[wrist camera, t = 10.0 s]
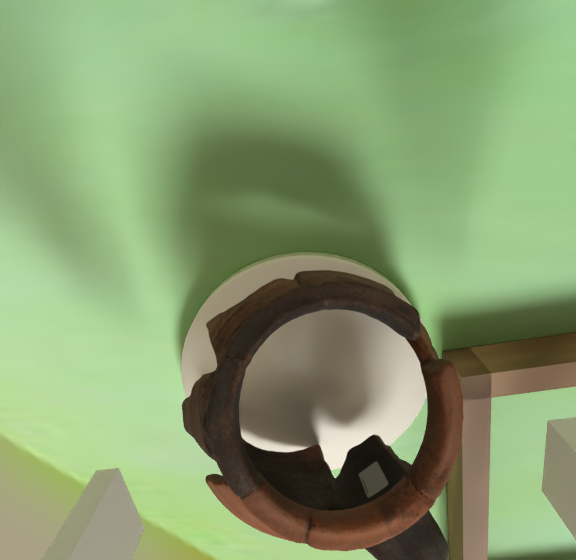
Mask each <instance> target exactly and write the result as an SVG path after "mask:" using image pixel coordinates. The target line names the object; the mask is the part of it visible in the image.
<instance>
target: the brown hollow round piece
mask: <svg viewBox="0 0 576 560" xmlns="http://www.w3.org/2000/svg"><path fill="white" fill-rule="evenodd" d="M321 310H349V311H355V312H359V313H363V314H366V315H368V316H370V317H372V318H374V319H377V320H379V321H380V322H382V323H384V324H386V325H387V326H389V327H390V328H391V329H392V330H394V331H395V332H396V333H398V334H399V335H401V336H403V337H405V338H406V340H407V342H408V343H409V344H410V346H411V347H412V349H413V350H414V352H415V354H416V356H417V358H418V360H419V362H420V366H421V372H422V375H423V378H424V382H425V386H426V392H427V402H428V416H427V425H426V431H425V435H424V439H423V442H422V445H421V447H420V450H419V452H418V454H417V457H416V459H415V460H414V462H413V464H412V465H411V464H409V463H408V462H406V461H403V460H401V459H399V457H398V456H397V455H396V454H395V453H394V452H393V450H392V449H391V447H390V446H388V445H385V443H384V442H383V440H382V439H381V437H380V436H378V435H372V436H370V437H368V438H367V439H366V440H365V441H364V442H362V443H361V444H359V445H357V446H354V447H352V448H351V449H350V450H349V451H348V452H347V456H346V459H345V461H344V464H343V466H342V469H341V472H340V474H339V475H338V477H337V478H334V477H333V475H332V473H331V470H330V467H329V465H328V464H327V462H326V461H325V459H324V455H323V452H322V449H321V447H320V446H319V445H318V444H316V445H313V446H311V447H308V448H306V449H303V450H297V451H294V452H276V451H268V450H263V449H260V448H257V447H255V446H253V445H252V444H250V443H248V442H246V441H245V440H244V439H243V438H242V436H241V430H240V421H239V401H240V393H241V389H242V384H243V380H244V377H245V371H246V368H247V367H248V365H249V364H250V362H251V360H252V358H253V356H254V355H255V353H256V352H257V351H258V349H259V348H260V346H261V345H262V344H263V343H264V342H265V341H266V339H267V338H268V337H269V336H270V335H271V334H272V333H274V332H275V331H276V330H277V329H278V328H280V327H281V326H283V325H284V324H286V323H288V322H289V321H291V320H293V319H295V318H298V317H300V316H303V315H305V314H309V313H313V312H318V311H321ZM206 327H207V329H208V332H209V338H210V342H211V345H212V347H213V350H214V353H215V355H216V360H217V368H216V370H215V371H214V372H211V373H207V374H203V375H202V376H201V378H200V379H198V380H197V381H196V382H195V383H194V385H193V387H192V390H191V395H190V396H189V397H188V398H186V399H185V400H184V402H183V404H182V411H183V422H184V427H185V430H186V431H187V432H188V433H189V434H190V435H191V436H192V437H194V439H195V440H196V442H197V443H198V444H199V446H200V447H201V448H202V449H203V451H204V452H205V453H206V454H207V455H208V456H209V457H211V458H212V459H213V460H215V461H216V462H217V464H218V467H219V469H220V471H221V473H222V475H223V476H221V475H218V474H211V475H208V476H206V483H207V484H208V486H209V487H210V489H211V490H212V492H213V493H214V495H215V496H216V497H217V498H218V500H219V501H220V502H221V503H222V504H223V505H224V506H225V507H226V508H227V509H228V510H229V511H230V512H231V513H233V514H234V515H235V516H236V517H238V518H239V519H240V520H242V521H243V522H245V523H247V524H248V525H250V526H252V527H253V528H255V529H257V530H259V531H261V532H264V533H267V534H269V535H272V536H275V537H278V538H282V539H285V540H289V541H293V542H296V543H305V544H308V545H309V546H311V547H313V548H315V549H321V550H339V551H349V550H356V549H364V548H365V549H366V550H367V551H368V552H370V553H371V554H372V555H373V556H374V557H375V558H376V559H377V560H447V558H448V544H447V542H446V540H445V538H444V536H443V534H442V532H441V530H440V528H439V526H438V524H437V523H436V521H435V520H434V518H433V517H432V515H431V513H430V511H429V509H430V508H431V507H432V506H433V505H434V502H435V500H436V498H437V497H439V495H440V494H441V492H442V490H443V488H444V486H445V485H446V483H447V482H448V480H449V476H450V474H451V472H452V470H453V467H454V464H455V462H456V460H457V456H458V453H459V449H460V445H461V441H462V429H463V420H464V415H463V396H462V392H461V388H460V383H459V379H458V376H457V373H456V370H455V367H454V365H453V363H452V362H451V361H448V360H444V359H438V356H437V353H436V351H435V349H434V348H433V346H432V343H431V339H430V337H429V335H428V333H427V331H426V329H425V327H424V326H423V324H422V323H421V321H420V316H419V313H418V311H417V310H416V309H415V308H414V307H413V306H411V305H410V304H409V303H407V302H405V301H403V300H402V299H400V298H398V297H397V296H395V294H394V292H393V291H392V290H391V289H390V288H388V287H387V286H385V285H383V284H380V283H378V282H376V281H373V280H371V279H368V278H364V277H361V276H358V275H355V274H350V273H346V272H340V271H331V270H314V271H301V272H298V273H296V275H295V277H294V280H290V279H284V278H278V279H275V280H273V281H271V282H269V283H267V284H265V285H263V286H262V287H260V288H259V289H257V290H256V291H255V292H253V293H252V294H250V295H249V296H247V297H246V298H245V299H244V300H242V301H241V302H239V303H237V304H236V305H234V306H233V307H231V308H229V309H227V310H226V311H224V312H222V313H219V314H218V315H216V316H215V317H214V318H212V319H211V320H210V321H208V322H207V323H206Z"/></svg>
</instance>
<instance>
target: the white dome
mask: <svg viewBox="0 0 576 560" xmlns="http://www.w3.org/2000/svg"><path fill="white" fill-rule="evenodd" d="M314 270H331V271H340V272H346V273H350V274H355V275H358V276H361V277H364V278H368V279H371V280H373V281H376V282H378V283H380V284H383V285H385V286H387V287H388V288H390V289H391V290H392V291H393V292H394V294H395V296H397V297H398V298H400V299H402V300H403V301H405V302H407V303H409V304H410V302H409V301H408V300H407V298H406V297H405V295H404V294H403V293H402V292H401V291H400V290H399V289H398V288H397V287H396V286H395V285H394V284H393V283H392V282H391V281H390V280H388V279H387V278H386V277H385V276H383V275H382V274H381V273H379V272H377V271H376V270H374V269H372V268H371V267H369V266H367V265H365V264H362V263H360V262H358V261H356V260H353V259H350V258H346V257H343V256H339V255H335V254H329V253H322V252H294V253H285V254H280V255H276V256H271V257H268V258H265V259H262V260H259V261H257V262H254V263H252V264H250V265H248V266H246V267H244V268H242V269H240V270H238V271H237V272H235V273H234V274H232V275H231V276H230V277H228V278H227V279H225V280H224V281H223V282H222V283H221V284H220V285H219V286H218V287H217V288H216V289H215V290H213V292H212V293H211V294H210V295H209V297H208V298H207V299H206V300H205V302H204V303H203V305H202V306H201V308H200V310H199V312H198V313H197V315H196V317H195V319H194V321H193V322H192V324H191V326H190V329H189V331H188V334H187V336H186V339H185V343H184V347H183V352H182V361H181V373H182V383H183V387H184V391H185V395H186V397H187V398H188V397H189V396H190V395H191V390H192V387H193V385H194V383H195V382H196V381H197V380H198V379H200V378H201V376H202V375H203V374H207V373H211V372H214V371H215V370H216V368H217V360H216V355H215V353H214V350H213V347H212V345H211V342H210V338H209V332H208V329H207V327H206V323H207V322H208V321H210V320H211V319H212V318H214V317H215V316H216V315H218V314H219V313H222V312H224V311H226V310H227V309H229V308H231V307H233V306H234V305H236V304H237V303H239V302H241V301H242V300H244V299H245V298H246V297H247V296H249V295H250V294H252V293H253V292H255V291H256V290H257V289H259V288H260V287H262V286H263V285H265V284H267V283H269V282H271V281H273V280H275V279H278V278H284V279H290V280H294V277H295V275H296V273H298V272H301V271H314ZM410 305H411V304H410ZM411 306H412V305H411ZM420 321H421V318H420ZM421 323H422V321H421ZM422 324H423V323H422ZM423 326H424V325H423ZM426 397H427V392H426V386H425V382H424V378H423V375H422V372H421V366H420V362H419V360H418V358H417V356H416V354H415V352H414V350H413V349H412V347H411V346H410V344H409V343H408V342H407V340H406V338H405V337H403V336H401V335H399V334H398V333H396V332H395V331H394V330H392V329H391V328H390V327H389V326H387V325H386V324H384V323H382V322H380V321H379V320H377V319H374V318H372V317H370V316H368V315H366V314H363V313H359V312H355V311H349V310H321V311H318V312H313V313H309V314H305V315H303V316H300V317H298V318H295V319H293V320H291V321H289V322H288V323H286V324H284V325H283V326H281V327H280V328H278V329H277V330H276V331H275V332H274V333H272V334H271V335H270V336H269V337H268V338H267V339H266V341H265V342H264V343H263V344H262V345H261V346H260V348H259V349H258V351H257V352H256V353H255V355H254V356H253V358H252V360H251V362H250V364H249V365H248V367H247V368H246V371H245V377H244V380H243V384H242V389H241V393H240V401H239V421H240V430H241V436H242V438H243V439H244V440H245V441H246V442H248V443H250V444H252V445H253V446H255V447H257V448H260V449H263V450H268V451H276V452H294V451H297V450H303V449H306V448H308V447H311V446H313V445H316V444H318V445H319V446H320V447H321V449H322V452H323V455H324V459H325V461H326V462H327V464H328V465H329V467H330V470H333V469H338V468H342V466H343V464H344V461H345V459H346V456H347V452H348V451H349V450H350V449H351V448H352V447H354V446H357V445H359V444H361V443H362V442H364V441H365V440H366V439H367V438H368V437H370V436H372V435H378V436H380V437H381V439H382V440H383V442H384V443H385V445H388V446H389V445H390V444H391V443H393V442H394V441H395V440H396V439H397V438H399V437H400V436H401V435H402V434H403V433H404V432H405V430H406V429H407V428H408V427H409V426H410V425H411V424H412V422H413V421H414V419H415V418H416V416H417V415H418V414H419V412H420V410H421V408H422V406H423V404H424V402H425V400H426Z"/></svg>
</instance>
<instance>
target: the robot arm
mask: <svg viewBox="0 0 576 560" xmlns="http://www.w3.org/2000/svg"><path fill="white" fill-rule="evenodd" d="M542 491H543V493H544V494H545V496H546V497H547V499H548V500H549V502H550V503H551V504H552V506H553V507H554V509H555V510H556V512H557V513H558V515H559V516H560V518H561V519H562V520H563V522H564V523H565V525H566V526H567V528H568V529H569V531H570V532H571V534H572V535H573V536H574V538H575V539H576V418H567V419H558V420H549V421H548V424H547V436H546V447H545V459H544V470H543V482H542ZM143 531H144V526H143V523H142V521H141V519H140V516H139V514H138V512H137V509H136V507H135V505H134V503H133V500H132V498H131V496H130V493H129V491H128V489H127V486H126V484H125V482H124V479H123V477H122V475H121V473H120V470H119V468H116V469H107V470H98V471H96V472H95V473H94V475H93V477H92V478H91V480H90V481H89V483H88V485H87V486H86V488H85V490H84V491H83V493H82V495H81V496H80V498H79V499H78V501H77V503H76V504H75V506H74V508H73V509H72V511H71V513H70V514H69V516H68V517H67V519H66V521H65V522H64V524H63V526H62V527H61V529H60V530H59V532H58V534H57V535H56V537H55V539H54V540H53V542H52V544H51V545H50V547H49V548H48V550H47V552H46V554H45V555H44V557H43V558H42V560H132V558H133V556H134V554H135V551H136V549H137V546H138V543H139V541H140V539H141V536H142V533H143Z"/></svg>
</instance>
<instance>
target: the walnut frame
mask: <svg viewBox="0 0 576 560" xmlns="http://www.w3.org/2000/svg"><path fill="white" fill-rule="evenodd" d="M443 359H444V360H448V361H451V362H452V363H453V365H454V367H455V370H456V373H457V376H458V379H459V383H460V388H461V392H462V396H463V415H464V420H463V429H462V441H461V445H460V449H459V453H458V456H457V460H456V462H455V464H454V467H453V470H452V472H451V474H450V476H449V480H448V482H447V503H448V536H449V560H487V553H488V510H489V467H490V423H491V397H499V396H506V395H514V394H521V393H529V392H536V391H544V390H551V389H559V388H567V387H574V386H576V333H569V334H562V335H555V336H547V337H540V338H533V339H526V340H519V341H512V342H505V343H498V344H491V345H484V346H477V347H470V348H463V349H456V350H449V351H443Z"/></svg>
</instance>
